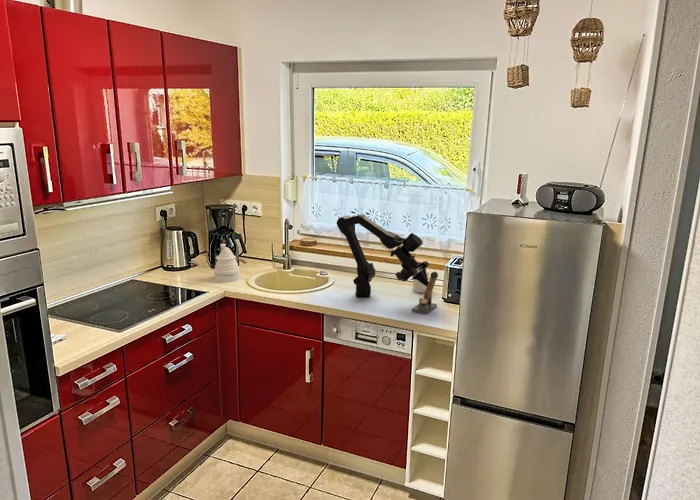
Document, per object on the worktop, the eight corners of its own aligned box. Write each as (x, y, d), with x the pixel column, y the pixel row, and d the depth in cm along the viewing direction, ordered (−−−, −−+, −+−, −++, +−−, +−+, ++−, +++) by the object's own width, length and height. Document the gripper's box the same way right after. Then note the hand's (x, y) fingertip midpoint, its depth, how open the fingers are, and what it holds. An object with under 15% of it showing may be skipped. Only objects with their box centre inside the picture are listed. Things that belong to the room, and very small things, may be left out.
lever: (420, 302, 232) (430, 271, 227) (423, 299, 236) (433, 269, 230) (426, 305, 231) (437, 274, 225) (429, 302, 234) (440, 272, 229)
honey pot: (209, 279, 269) (207, 245, 265) (227, 273, 280) (225, 241, 276) (227, 283, 263) (225, 249, 259) (245, 277, 273) (244, 244, 269)
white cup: (427, 293, 253) (428, 273, 250) (411, 292, 254) (411, 272, 252) (428, 288, 260) (429, 269, 258) (412, 287, 262) (413, 268, 259)
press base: (411, 311, 228) (412, 298, 227) (422, 303, 239) (423, 290, 237) (426, 314, 225) (427, 300, 223) (437, 306, 235) (437, 293, 234)
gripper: (402, 264, 245) (423, 290, 243) (385, 273, 230) (407, 301, 227) (418, 250, 240) (440, 277, 237) (402, 258, 224) (425, 287, 221)
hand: (428, 285), depth 231 cm, fingers closed, pressing on lever
